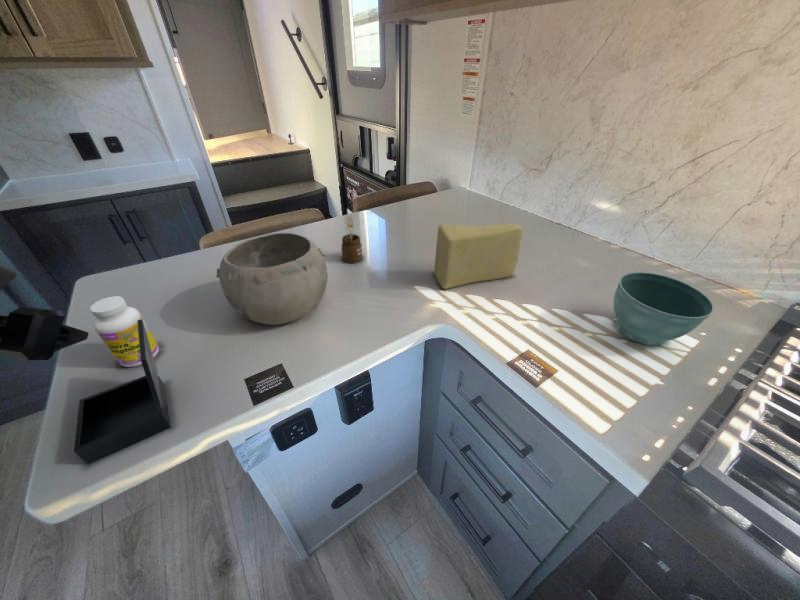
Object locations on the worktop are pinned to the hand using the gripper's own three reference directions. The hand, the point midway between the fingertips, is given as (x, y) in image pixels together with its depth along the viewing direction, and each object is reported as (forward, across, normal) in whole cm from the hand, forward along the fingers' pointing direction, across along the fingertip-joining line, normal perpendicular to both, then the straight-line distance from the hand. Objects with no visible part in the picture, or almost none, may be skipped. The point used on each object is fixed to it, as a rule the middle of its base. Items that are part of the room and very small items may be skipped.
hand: (60, 332), depth 48 cm
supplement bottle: (+16, +1, +4) cm, 16 cm away
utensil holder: (+48, -30, -30) cm, 64 cm away
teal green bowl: (+32, -102, -14) cm, 108 cm away
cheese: (+44, -67, -26) cm, 84 cm away
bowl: (+30, -20, -11) cm, 37 cm away
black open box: (+6, -9, +13) cm, 17 cm away
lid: (+2, -13, +3) cm, 14 cm away
